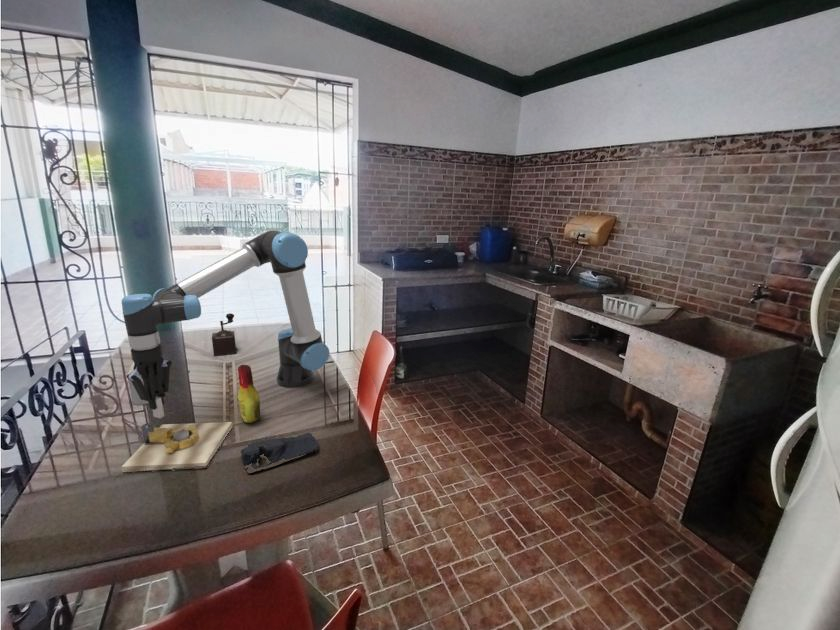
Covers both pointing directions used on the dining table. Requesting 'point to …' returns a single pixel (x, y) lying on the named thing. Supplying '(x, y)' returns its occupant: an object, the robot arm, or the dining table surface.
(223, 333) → the coffee grinder
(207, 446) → the post board
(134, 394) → the mug
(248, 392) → the bottle
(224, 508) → the dining table surface
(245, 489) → the dining table surface
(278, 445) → the dark slate chunk
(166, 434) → the collar
